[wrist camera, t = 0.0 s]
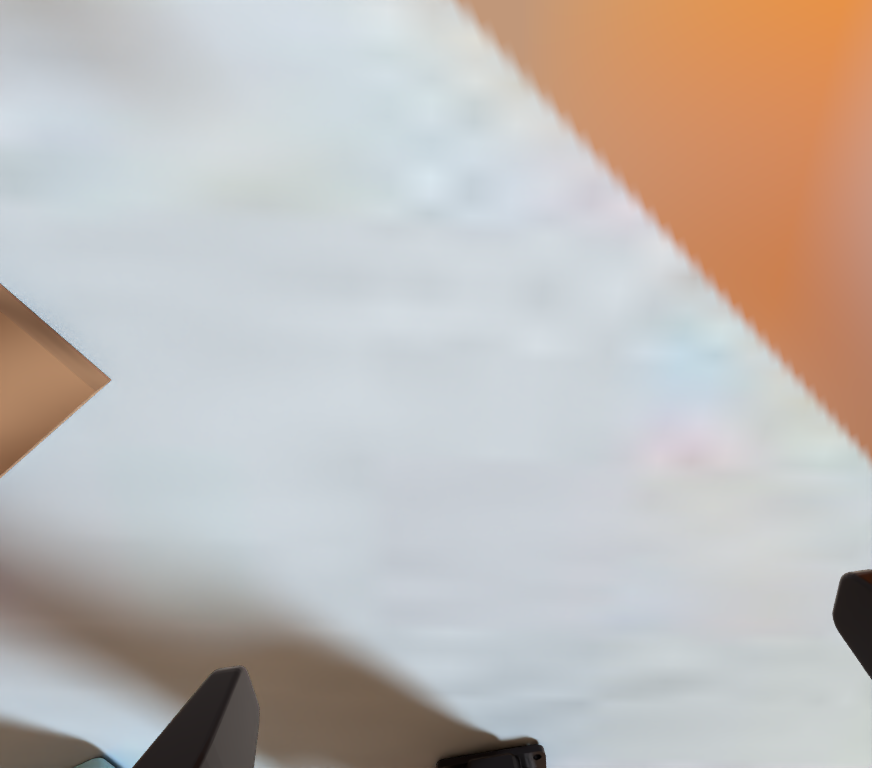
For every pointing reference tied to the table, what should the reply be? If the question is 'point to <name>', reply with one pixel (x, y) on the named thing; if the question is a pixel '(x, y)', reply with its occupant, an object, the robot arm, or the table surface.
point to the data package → (95, 764)
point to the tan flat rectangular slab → (37, 380)
